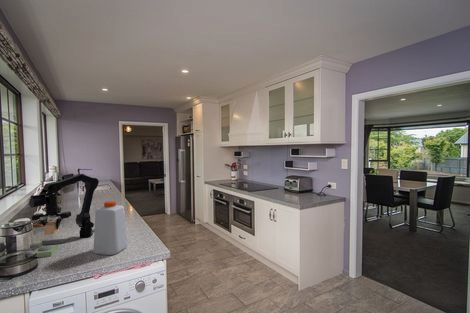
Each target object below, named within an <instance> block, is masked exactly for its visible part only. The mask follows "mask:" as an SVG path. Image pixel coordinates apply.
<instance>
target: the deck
mask: <svg viewBox="0 0 470 313" xmlns="http://www.w3.org/2000/svg"><path fill="white" fill-rule="evenodd" d="M64 243H66V241H65V238H59V239H58V238H56V239H47V240H45V239H44V240H41V242H40V243H39V244H38V245H36V246H35V247H34V248H33V249H34V250H35V251H36V253H37V257H38V258H45V257H46V258H48V257H52V256H53V255H54V254H56V252H58V251H59V250H60V244H64Z"/></svg>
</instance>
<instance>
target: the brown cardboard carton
mask: <svg viewBox="0 0 470 313" xmlns="http://www.w3.org/2000/svg"><path fill="white" fill-rule="evenodd" d="M47 222H48V223H46V225H45V226H43V233H44V236H47V235H55V234H56V233H57V232H59V231H60V229H61V228H60V226H59V228H58V230H57V228H56V220H49V221H47Z"/></svg>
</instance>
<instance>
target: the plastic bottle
mask: <svg viewBox="0 0 470 313" xmlns="http://www.w3.org/2000/svg"><path fill="white" fill-rule="evenodd" d="M125 212H126V211H125V206H124V205H120V204H117V202H116V201H115V200H111V201H105V202H104V203H103V206H101V207H98V208H96V209H95V214H94V233H93V253H94V254H96V255H100V256H101V255H102V256H114V255H117V254H119V253H120V252H122V251H124V250H125V249H126V248H127V247H128V246H129V245H128V234H127V224H126V214H125Z"/></svg>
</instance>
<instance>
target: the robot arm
mask: <svg viewBox="0 0 470 313" xmlns="http://www.w3.org/2000/svg"><path fill="white" fill-rule="evenodd" d="M78 182H82V183H84V189H85V194H84V197H83V201H82V206H81V211H80V213H79V214H78V213H77V214H76V215H75V223H76V225H77V226H78V227H79V228H80V229H79V239H86V238H91V237H92V236H94V233H93V228H94V227H95V222H92V221H91V214H90V210H91V206H92V202H93V197H94V192H95V191H96V189H97V188H98V186H99V182H100V181H99V179H98V178H96V177H93V176H92V177H91V176H89V175H86V174H84V173H78V174H76V175H73V176H70V177H67V178H65V179H62V180H59V181H52V182H48V183H44V185H43V188H42V190H41V191H39V194H35V195H30V198H29V199H28V205H29V208H32V209H33V208H38V207H44V209H45V213H42V212H39V213H35V214H33V215H32V216H31V221H38V222H40V223H41V225H42V227H44V226H45V225H46V223H48V222H49V221H48V220H49V218H56V228H57V230H58V228H59V226H60V225H61V223H62V221H63V219H68V218H70V217H71V216H72V211H63V212H62V207H60V206H59V204H58V197H60V196H62V194H61V193H60V191H61V190H63V188H65V187H68V186H70V185H73V184H75V183H78Z"/></svg>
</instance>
